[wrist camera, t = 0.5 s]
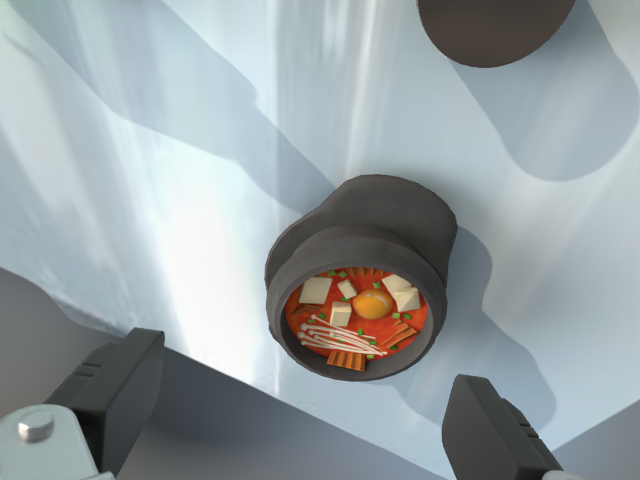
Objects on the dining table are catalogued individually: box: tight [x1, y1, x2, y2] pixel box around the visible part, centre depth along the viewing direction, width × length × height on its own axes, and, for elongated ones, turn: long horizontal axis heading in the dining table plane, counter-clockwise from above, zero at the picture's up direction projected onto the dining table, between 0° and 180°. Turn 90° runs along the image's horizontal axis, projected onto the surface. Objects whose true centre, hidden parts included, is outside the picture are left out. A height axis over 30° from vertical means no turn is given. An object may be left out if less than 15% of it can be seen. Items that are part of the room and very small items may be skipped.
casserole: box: [264, 174, 458, 382], centre depth 45 cm, size 25×19×8 cm
